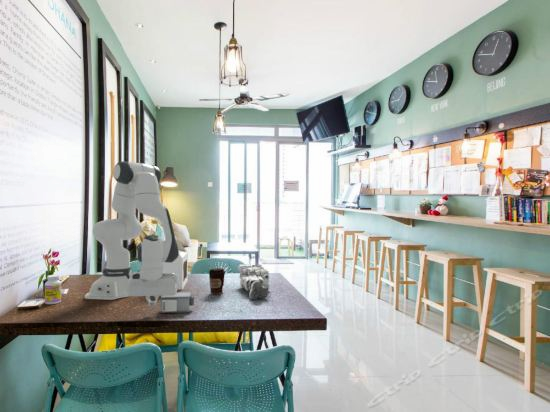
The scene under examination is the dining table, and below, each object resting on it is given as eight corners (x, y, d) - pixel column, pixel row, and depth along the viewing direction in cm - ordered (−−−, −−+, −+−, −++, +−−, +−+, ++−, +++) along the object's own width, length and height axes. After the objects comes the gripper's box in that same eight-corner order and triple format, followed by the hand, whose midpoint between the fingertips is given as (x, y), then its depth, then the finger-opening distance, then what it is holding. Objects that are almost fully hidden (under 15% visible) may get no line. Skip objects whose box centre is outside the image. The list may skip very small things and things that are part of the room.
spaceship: (262, 281, 213) (263, 261, 212) (278, 303, 179) (278, 280, 178) (236, 282, 209) (236, 262, 208) (246, 305, 175) (247, 282, 174)
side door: (161, 312, 154) (161, 301, 154) (163, 310, 156) (163, 299, 156) (176, 311, 154) (176, 300, 154) (177, 310, 156) (177, 299, 156)
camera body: (160, 313, 156) (160, 297, 155) (164, 308, 163) (164, 292, 163) (192, 312, 157) (192, 296, 157) (194, 307, 164) (194, 292, 164)
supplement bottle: (42, 305, 167) (42, 277, 166) (48, 301, 173) (48, 274, 173) (58, 304, 168) (58, 276, 168) (63, 300, 174) (63, 274, 174)
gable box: (165, 281, 217) (165, 235, 217) (187, 280, 219) (187, 234, 218) (157, 290, 195) (157, 239, 195) (182, 289, 197) (182, 238, 196)
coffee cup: (221, 296, 185) (221, 270, 184) (206, 295, 186) (206, 270, 186) (227, 291, 193) (227, 267, 193) (212, 290, 195) (212, 267, 195)
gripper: (178, 271, 158) (178, 303, 158) (130, 272, 156) (130, 304, 156) (175, 274, 152) (175, 307, 152) (125, 275, 150) (125, 308, 150)
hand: (152, 305), depth 154 cm, fingers closed
